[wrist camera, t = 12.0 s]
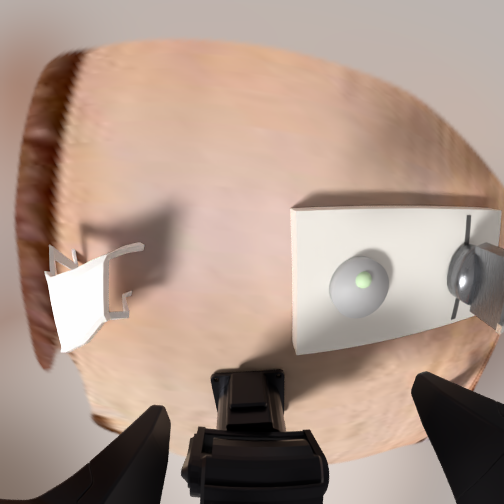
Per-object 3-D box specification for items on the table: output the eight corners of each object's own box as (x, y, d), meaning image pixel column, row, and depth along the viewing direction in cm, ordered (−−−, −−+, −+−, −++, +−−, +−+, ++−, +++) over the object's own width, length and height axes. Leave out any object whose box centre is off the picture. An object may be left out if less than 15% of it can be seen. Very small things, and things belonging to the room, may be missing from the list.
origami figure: (72, 205, 18) (34, 213, 14) (158, 240, 19) (134, 259, 15) (57, 322, 21) (31, 347, 16) (129, 358, 22) (110, 392, 17)
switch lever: (481, 233, 18) (531, 251, 12) (477, 293, 19) (519, 319, 13) (447, 244, 18) (501, 267, 12) (444, 309, 19) (487, 342, 13)
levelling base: (474, 304, 22) (494, 317, 19) (292, 341, 22) (300, 367, 18) (488, 207, 20) (512, 213, 16) (290, 208, 19) (301, 214, 16)
